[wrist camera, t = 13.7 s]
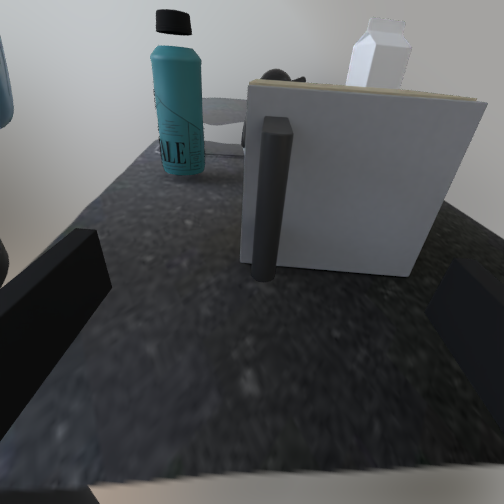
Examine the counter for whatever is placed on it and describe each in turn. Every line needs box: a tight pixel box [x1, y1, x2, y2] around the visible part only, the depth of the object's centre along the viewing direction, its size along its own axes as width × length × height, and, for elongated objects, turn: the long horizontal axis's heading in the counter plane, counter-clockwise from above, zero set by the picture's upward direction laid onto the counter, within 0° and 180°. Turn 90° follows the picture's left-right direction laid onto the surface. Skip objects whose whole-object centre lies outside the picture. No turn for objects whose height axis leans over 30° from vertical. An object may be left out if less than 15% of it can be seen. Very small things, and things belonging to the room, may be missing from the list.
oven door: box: [240, 85, 488, 282], centre depth 19 cm, size 7×15×14 cm, turn 86°
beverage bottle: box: [150, 9, 206, 175], centre depth 38 cm, size 6×7×20 cm
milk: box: [345, 17, 412, 89], centre depth 46 cm, size 6×6×22 cm
